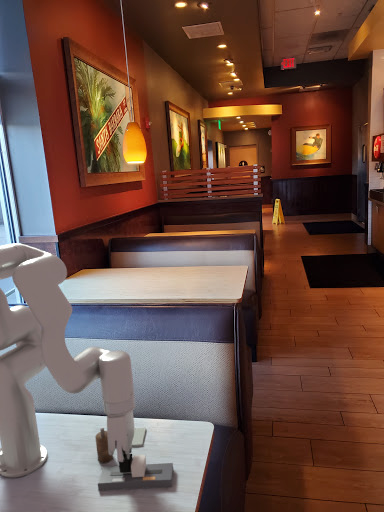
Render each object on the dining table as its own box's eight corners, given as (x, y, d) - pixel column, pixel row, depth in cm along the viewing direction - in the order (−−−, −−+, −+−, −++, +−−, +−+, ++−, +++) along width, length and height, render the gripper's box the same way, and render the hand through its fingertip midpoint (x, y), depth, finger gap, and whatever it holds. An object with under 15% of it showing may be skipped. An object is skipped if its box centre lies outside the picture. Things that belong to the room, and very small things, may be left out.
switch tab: (132, 477, 99) (130, 466, 99) (134, 466, 103) (133, 455, 103) (144, 476, 99) (143, 465, 99) (146, 465, 103) (145, 454, 103)
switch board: (98, 490, 99) (97, 483, 99) (104, 473, 105) (103, 466, 104) (171, 486, 98) (171, 479, 98) (173, 469, 104) (172, 462, 104)
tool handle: (97, 464, 109) (93, 434, 107) (99, 454, 112) (95, 425, 111) (112, 462, 109) (108, 432, 107) (113, 452, 113) (110, 423, 111)
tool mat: (110, 447, 115) (110, 446, 115) (116, 431, 123) (116, 429, 123) (142, 446, 115) (142, 444, 115) (145, 429, 123) (145, 427, 123)
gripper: (110, 388, 106) (117, 451, 109) (96, 420, 91) (105, 493, 94) (139, 386, 105) (145, 450, 108) (129, 419, 91) (137, 491, 94)
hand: (126, 470), depth 101 cm, fingers closed
